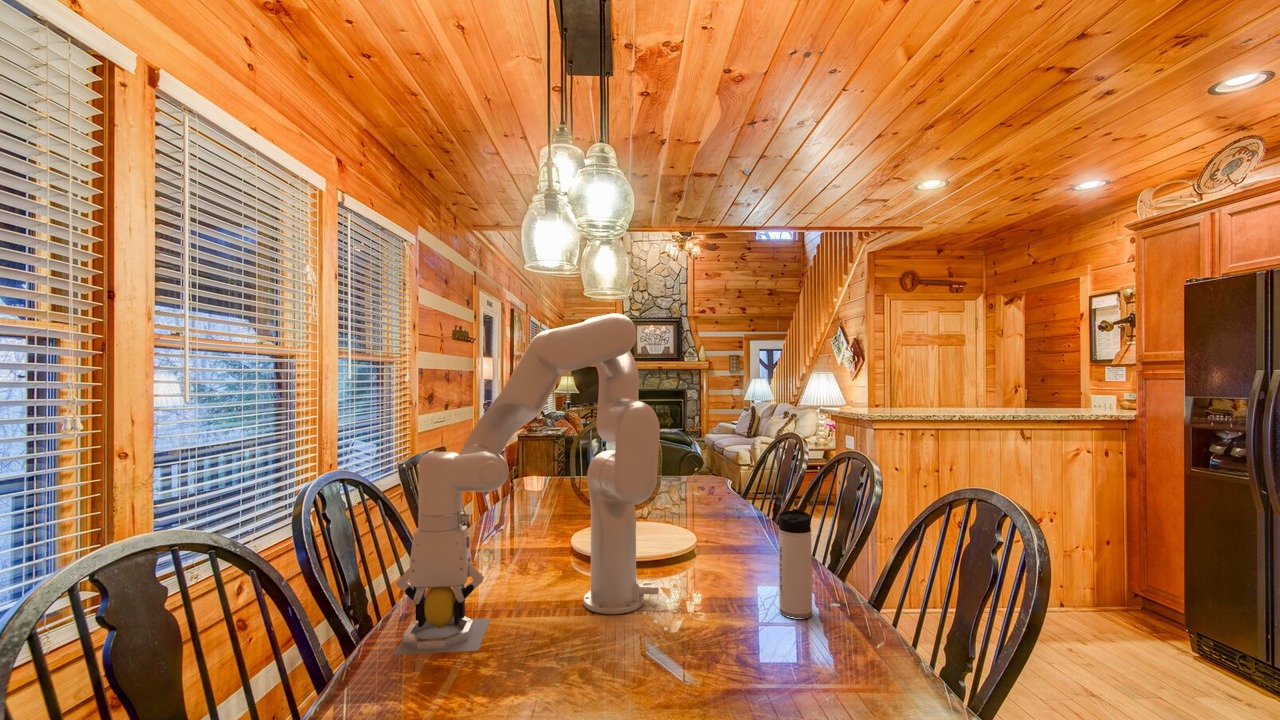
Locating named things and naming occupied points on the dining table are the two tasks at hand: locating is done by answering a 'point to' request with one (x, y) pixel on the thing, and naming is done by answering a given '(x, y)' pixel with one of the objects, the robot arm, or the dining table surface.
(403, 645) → the board
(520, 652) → the dining table surface
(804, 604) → the travel mug
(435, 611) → the lemon
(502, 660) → the dining table surface
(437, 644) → the ring
